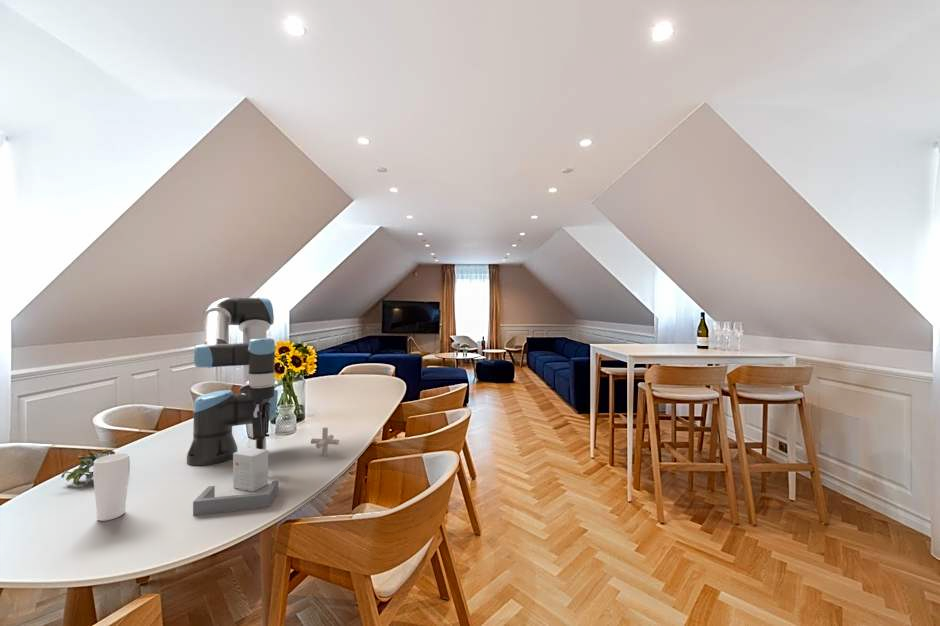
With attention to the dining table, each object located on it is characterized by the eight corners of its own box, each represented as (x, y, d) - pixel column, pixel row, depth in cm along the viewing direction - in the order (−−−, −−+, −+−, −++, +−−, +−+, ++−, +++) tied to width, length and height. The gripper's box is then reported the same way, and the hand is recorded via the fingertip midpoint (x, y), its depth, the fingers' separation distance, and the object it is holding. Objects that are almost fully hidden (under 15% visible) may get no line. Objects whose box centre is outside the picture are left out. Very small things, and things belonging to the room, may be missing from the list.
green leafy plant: (107, 493, 120) (136, 459, 123) (79, 503, 109) (112, 465, 113) (76, 473, 119) (106, 440, 123) (45, 482, 109) (79, 445, 112)
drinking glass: (86, 526, 92) (87, 464, 92) (100, 512, 98) (101, 454, 98) (122, 520, 94) (123, 460, 94) (133, 507, 101) (134, 451, 101)
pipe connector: (343, 450, 144) (343, 424, 144) (331, 460, 134) (331, 432, 134) (318, 449, 145) (318, 423, 145) (304, 459, 135) (305, 431, 135)
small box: (268, 484, 115) (269, 449, 115) (252, 492, 110) (253, 456, 110) (248, 480, 117) (249, 446, 118) (232, 488, 112) (232, 452, 112)
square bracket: (193, 515, 97) (193, 501, 97) (208, 498, 106) (208, 486, 106) (269, 507, 101) (269, 494, 101) (278, 492, 110) (278, 480, 110)
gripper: (255, 382, 128) (254, 452, 128) (241, 390, 115) (240, 467, 115) (279, 382, 130) (278, 450, 130) (268, 389, 117) (267, 465, 117)
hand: (260, 458), depth 122 cm, fingers closed
